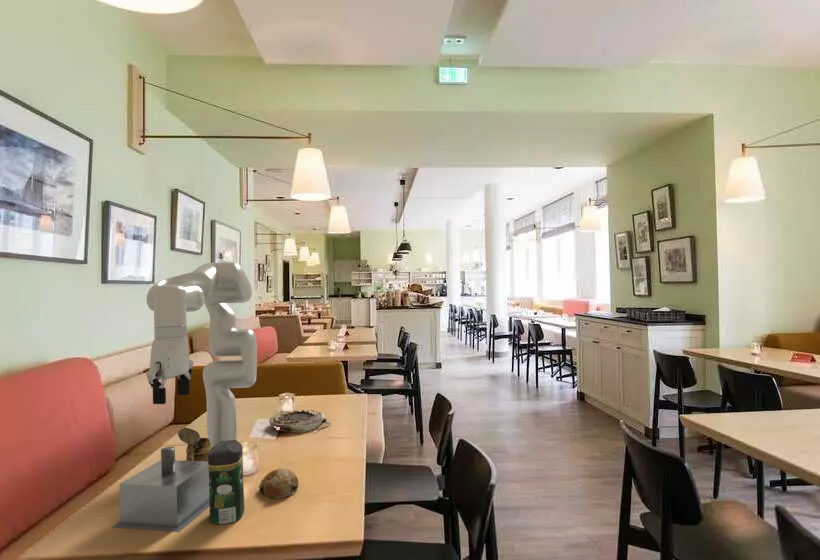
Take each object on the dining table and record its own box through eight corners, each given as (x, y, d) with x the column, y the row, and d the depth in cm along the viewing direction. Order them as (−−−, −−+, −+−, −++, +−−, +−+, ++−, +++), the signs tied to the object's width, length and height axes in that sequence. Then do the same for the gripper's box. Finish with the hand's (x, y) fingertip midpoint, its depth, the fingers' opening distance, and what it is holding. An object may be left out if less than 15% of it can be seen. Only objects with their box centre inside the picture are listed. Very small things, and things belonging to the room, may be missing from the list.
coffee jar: (214, 510, 123) (212, 438, 123) (246, 506, 124) (244, 436, 124) (205, 529, 113) (203, 452, 113) (240, 525, 115) (238, 449, 115)
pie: (295, 442, 174) (294, 429, 174) (245, 432, 188) (245, 419, 188) (344, 422, 198) (343, 410, 198) (296, 414, 212) (296, 403, 212)
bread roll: (281, 514, 127) (292, 488, 127) (249, 495, 129) (260, 469, 128) (297, 497, 137) (308, 473, 136) (267, 480, 139) (277, 456, 138)
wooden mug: (170, 491, 134) (168, 428, 134) (191, 472, 148) (189, 414, 148) (201, 490, 134) (200, 427, 134) (219, 471, 148) (218, 413, 148)
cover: (120, 524, 115) (118, 459, 115) (162, 496, 130) (161, 437, 130) (177, 528, 113) (175, 461, 113) (213, 498, 128) (212, 439, 128)
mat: (111, 529, 114) (111, 527, 114) (161, 495, 132) (161, 493, 132) (179, 534, 111) (179, 531, 111) (221, 498, 129) (221, 496, 129)
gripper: (178, 329, 132) (179, 391, 132) (133, 336, 115) (134, 407, 115) (203, 329, 131) (204, 391, 131) (161, 336, 114) (163, 408, 114)
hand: (172, 399), depth 123 cm, fingers open, 9 cm apart
